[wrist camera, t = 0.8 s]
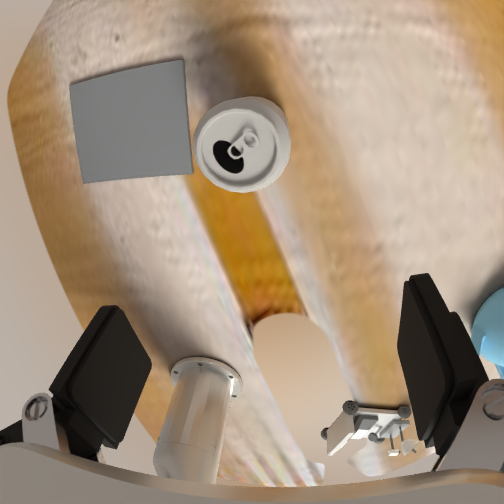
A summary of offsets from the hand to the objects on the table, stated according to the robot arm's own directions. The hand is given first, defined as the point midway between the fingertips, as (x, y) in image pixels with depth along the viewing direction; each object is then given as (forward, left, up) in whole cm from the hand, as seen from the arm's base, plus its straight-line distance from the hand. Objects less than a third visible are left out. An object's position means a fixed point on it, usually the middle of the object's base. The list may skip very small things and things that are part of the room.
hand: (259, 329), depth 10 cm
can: (+3, +3, -27) cm, 27 cm away
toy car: (-51, -19, -27) cm, 61 cm away
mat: (+5, +17, -27) cm, 32 cm away
